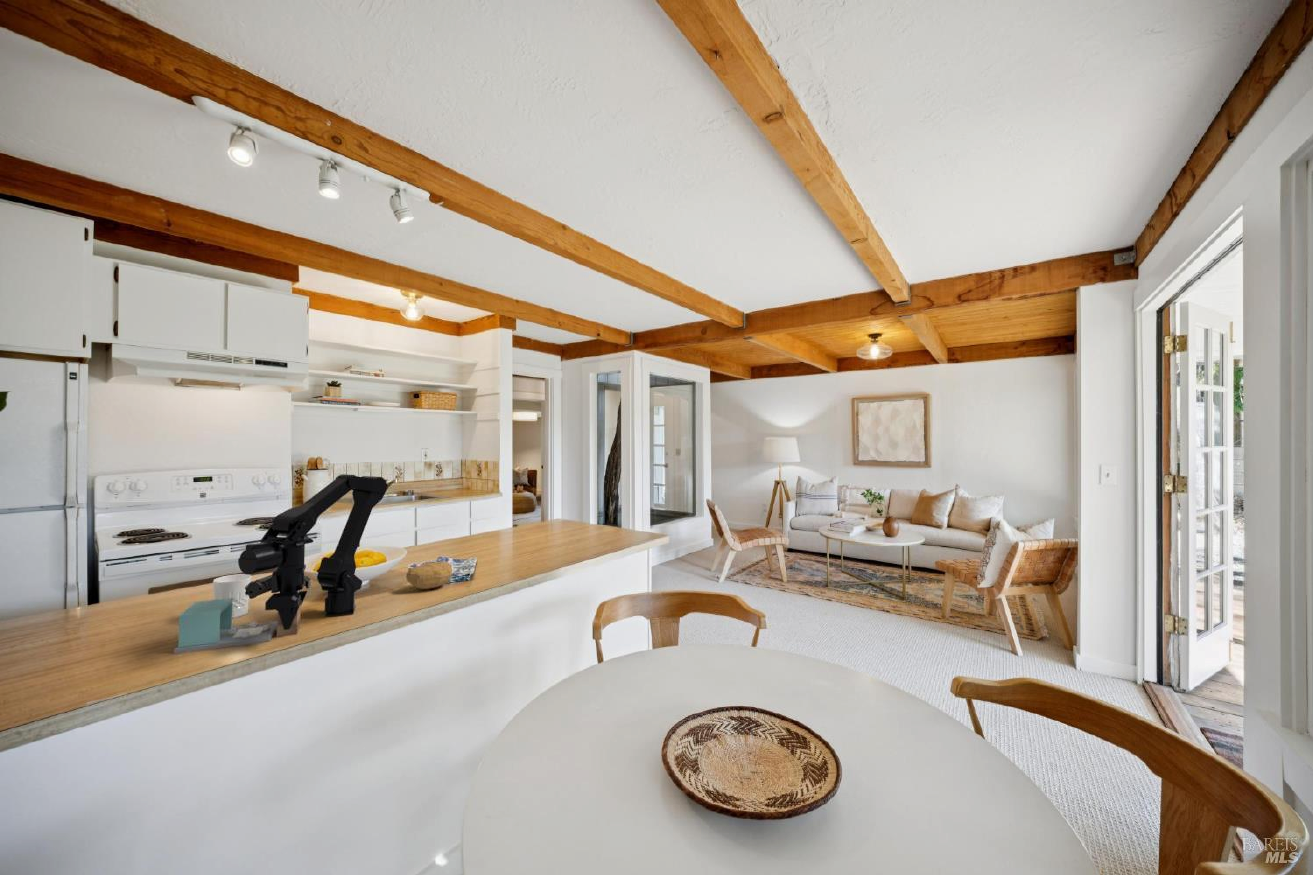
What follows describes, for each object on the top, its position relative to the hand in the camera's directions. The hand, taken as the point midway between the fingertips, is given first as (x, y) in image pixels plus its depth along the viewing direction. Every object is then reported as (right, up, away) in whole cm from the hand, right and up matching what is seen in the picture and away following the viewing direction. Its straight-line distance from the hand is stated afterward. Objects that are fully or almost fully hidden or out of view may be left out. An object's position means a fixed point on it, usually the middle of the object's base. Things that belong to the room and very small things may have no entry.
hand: (288, 626), depth 122 cm
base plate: (-11, -1, -4) cm, 12 cm away
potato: (+18, -2, +37) cm, 41 cm away
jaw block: (0, -2, 0) cm, 2 cm away
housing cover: (-15, 0, -6) cm, 16 cm away
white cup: (-23, -1, +10) cm, 26 cm away
